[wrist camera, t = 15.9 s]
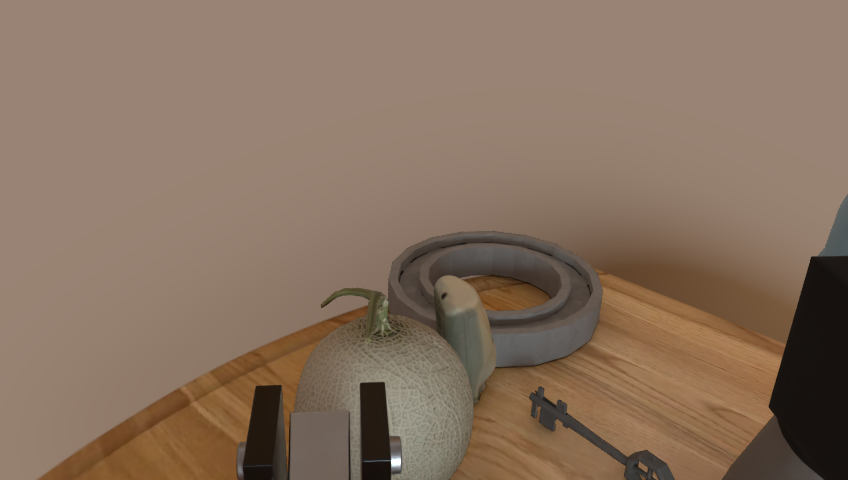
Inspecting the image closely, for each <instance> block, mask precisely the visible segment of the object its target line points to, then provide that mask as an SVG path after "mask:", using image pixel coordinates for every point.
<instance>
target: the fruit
mask: <svg viewBox="0 0 848 480" xmlns="http://www.w3.org/2000/svg"><path fill="white" fill-rule="evenodd" d="M343 295H355V296H362V297H365V298H366V299H368V300H370V301H369V303H368V311H367V316H364V317H360V318H357V319H355V320H353V321H351V322H349V323H347V324H345V325H343V326H341V327H339V328H337V329H335V330H334V331H333V332H331V333H330V334H329V335H327V336H326V337H325V338H324V339H322V340H321V341H320V343H319V344H318V345H317V346H316V347H315V349H314V350H313V351H312V353H311V354H310V356H309V358H308V360H307V362H306V363H305V366H304V368H303V371H302V374H301V377H300V381H299V384H298V387H297V394H296V400H295V408H294V412H317V411H344V410H348V411H349V412H350V458H351V480H361V473H360V383H363V382H385V387H386V399H387V412H388V424H389V436H400V437H401V445H402V473H401V474H393V475H391V480H450V478H451V477H452V476H453V474H454V473H455V471H456V470H457V468H458V467H459V465H460V464H461V462H462V460H463V458H464V456H465V453H466V451H467V448H468V445H469V442H470V438H471V432H472V427H473V416H474V410H473V396H472V390H471V385H470V382H469V378H468V375H467V372H466V369H465V367H464V365H463V363H462V361H461V359H460V358H459V356H458V355H457V353H456V352H455V351H454V349H453V348H452V347H451V345H450V344H449V343H448V342H447V341H446V340H445V339H444V338H443V337H441V336H440V335H439V334H438V333H437V332H436V331H435V330H433V329H432V328H430V327H428V326H427V325H425V324H422V323H420V322H418V321H415V320H414V319H410V318H407V317H404V316H401V315H393V314H392V315H387V309H388V305H389V302H388V300H387V298H386V296H385V295H383V294H382V293H381V292H377V291H371V290H367V289H361V288H351V289H350V288H344V289H342V290H340V291H337V292H334V293H333V294H332V295H331V296H330V297H329V298H327V299H326V300H325V301H324V302H323V303H322V304H321V308H322V307H324V306H326V305H327V304H329V303H330V302H331V301H332V300H334V299H335V298H337V297H339V296H343Z"/></svg>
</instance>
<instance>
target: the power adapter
mask: <svg viewBox="0 0 848 480" xmlns="http://www.w3.org/2000/svg"><path fill="white" fill-rule="evenodd" d="M434 306H435V314H436V327H437V333H438V334H439V335H440V336H441V337H443V338H444V339H445V340H446V341H447V342H448V343H449V344H450V345H451V347H452V348H453V349H454V351H455V352H456V353H457V355H458V356H459V358H460V359H461V361H462V363H463V365H464V367H465V369H466V372H467V375H468V378H469V382H470V385H471V390H472V396H473V404H474V403H477V402H478V401H479V400H480V392H482V391H483V390H484V389H485V386H486V382H485V380H486V379H487V378H488V377H489V376H490V375H491V374H492V373H493V371H494V369H495V367H496V347H495V344H494V341H493V339H492V333H491V328H490V324H489V320H488V316H487V313H486V311H485V308H484V306H483V303H482V301H481V299H480V297H479V295H478V293H477V292H476V290H475V289H474V288H473V287H472V286H471V285H470V284H469V283H467V282H465V281H464V280H462V279H460V278H458V277H456V276H451V275H446V276H443V277H441V278H440V279H438V280H437V282H436V284H435V287H434Z"/></svg>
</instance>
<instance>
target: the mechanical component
mask: <svg viewBox="0 0 848 480" xmlns="http://www.w3.org/2000/svg"><path fill="white" fill-rule="evenodd" d="M446 275H451V276H456V277H458V278H461V277H466V276H471V275H496V276H504V277H511V278H515V279H518V280H521V281H524V282H527V283H531V284H533V285H535V286H536V287H538V288H540V289H541V290H543V291H545V292H546V293H548V295H549V296H550V297H551V298H552V299H551V300H549V301H547V302H546V303H544V304H542V305H539V306H535V307H531V308H527V309H523V310H513V311H491V310H485V311H486V313H487V316H488V320H489V324H490V328H491V333H492V339H493V341H494V344H495V347H496V367H509V366H532V365H537V364H541V363H544V362H548V361H551V360H555V359H558V358H562V357H565V356H568V355H570V354H571V353H573V352H574V351H575V350H577V349H578V348H580V347H581V346H583V345H584V344H585V343H587V342H588V341H590V339H591V337H592V335H593V332H594V330H595V328H596V326H597V324H598V321H599V314H600V307H601V300H602V294H603V290H602V287H601V283H600V280H599V276H598V273H597V272H596V271H595V270H594V269H593V268H592V267H591V266H590V265H589V264H588V263H587V262H586V261H585V260H584V259H583V258H582V257H580V256H578V255H576V254H574V253H573V252H571V251H569V250H567V249H565V248H563V247H561V246H559V245H557V244H554V243H551V242H548V241H544V240H540V239H537V238H534V237H530V236H527V235H520V234H512V233H504V232H496V231H479V232H478V231H477V232H458V233H453V234H447V235H442V236H437V237H432V238H429V239H427V240H425V241H422V242H420V243H418V244H416V245H413V246H411V247H409V248H407V249H406V250H405V251H404V252H403V253H402V254H401V255H400V256H399V257H398V258H396V259H395V260H394V261H393V262H392V267H391V271H390V275H389V284H388V286H389V287H388V291H389V292H388V302H389V305H388V310H389V312H390V314H391V315H392V314H393V315H401V316H404V317H407V318H410V319H414V320H415V321H418V322H420V323H422V324H425V325H427V326H428V327H430V328H432V329H433V330H435V331H436V332H437V327H436V314H435V306H434V287H435V284H436V282H437V280H438V279H440V278H441V277H443V276H446Z"/></svg>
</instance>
